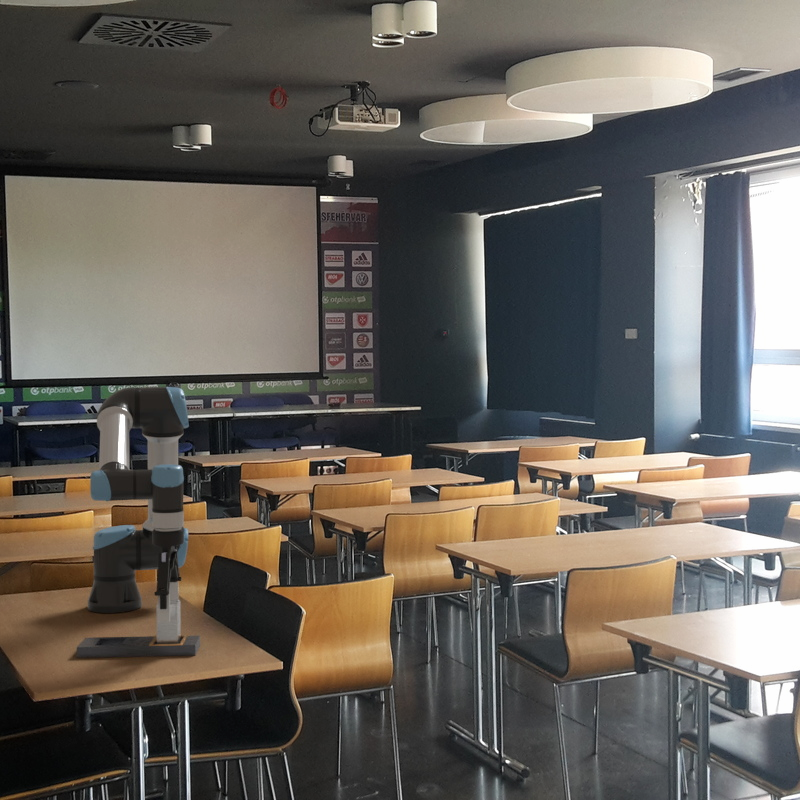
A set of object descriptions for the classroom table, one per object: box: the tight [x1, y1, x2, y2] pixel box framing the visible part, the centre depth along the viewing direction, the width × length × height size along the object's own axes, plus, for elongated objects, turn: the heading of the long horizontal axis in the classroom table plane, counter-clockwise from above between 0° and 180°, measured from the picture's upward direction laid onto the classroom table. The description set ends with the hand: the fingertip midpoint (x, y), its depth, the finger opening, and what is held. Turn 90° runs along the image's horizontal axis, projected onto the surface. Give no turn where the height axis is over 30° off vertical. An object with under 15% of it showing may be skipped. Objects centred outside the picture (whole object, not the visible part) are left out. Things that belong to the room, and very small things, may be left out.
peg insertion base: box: [76, 634, 201, 659], centre depth 252 cm, size 9×28×3 cm, turn 94°
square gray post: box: [155, 599, 182, 644], centre depth 252 cm, size 5×5×12 cm
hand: (168, 614), depth 252 cm, fingers open, 13 cm apart
